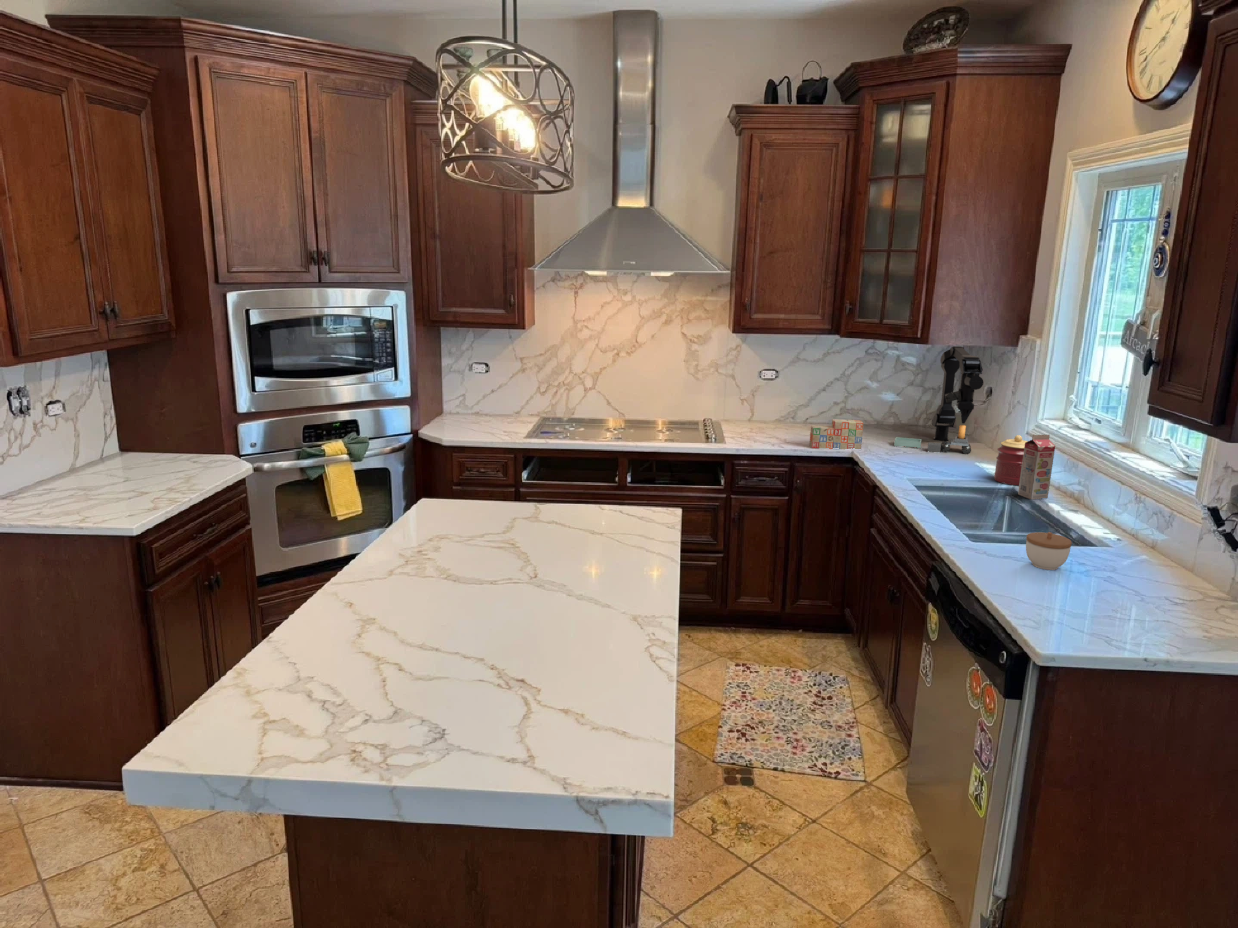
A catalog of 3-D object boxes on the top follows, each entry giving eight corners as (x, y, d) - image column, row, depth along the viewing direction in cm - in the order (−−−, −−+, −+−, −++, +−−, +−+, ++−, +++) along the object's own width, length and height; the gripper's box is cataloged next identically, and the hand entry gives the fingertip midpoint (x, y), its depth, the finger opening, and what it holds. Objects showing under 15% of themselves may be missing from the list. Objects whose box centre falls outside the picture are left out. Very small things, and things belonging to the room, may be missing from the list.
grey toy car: (940, 448, 363) (941, 434, 362) (970, 451, 359) (971, 437, 357) (940, 452, 356) (941, 438, 354) (970, 454, 352) (972, 440, 350)
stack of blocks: (811, 448, 358) (813, 420, 355) (809, 445, 364) (811, 418, 361) (861, 450, 357) (863, 422, 354) (858, 447, 363) (860, 419, 360)
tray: (894, 443, 371) (895, 437, 371) (920, 445, 368) (921, 439, 367) (894, 446, 365) (894, 439, 365) (920, 448, 362) (921, 442, 361)
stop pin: (957, 440, 357) (959, 424, 356) (964, 441, 356) (965, 425, 355) (957, 441, 355) (959, 425, 353) (964, 442, 354) (966, 426, 352)
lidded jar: (1018, 566, 220) (1023, 533, 218) (1028, 556, 228) (1032, 523, 226) (1063, 576, 213) (1068, 542, 211) (1071, 565, 222) (1076, 532, 219)
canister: (1010, 487, 301) (1017, 439, 296) (985, 478, 313) (991, 432, 308) (1039, 485, 304) (1046, 438, 300) (1014, 476, 316) (1020, 431, 312)
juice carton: (1017, 494, 291) (1026, 433, 286) (1034, 493, 292) (1042, 432, 287) (1031, 499, 285) (1039, 437, 279) (1047, 498, 286) (1056, 436, 281)
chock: (927, 450, 360) (928, 442, 359) (939, 451, 358) (940, 443, 357) (927, 452, 356) (928, 444, 355) (939, 453, 354) (940, 445, 353)
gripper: (946, 382, 361) (942, 417, 365) (947, 387, 344) (943, 424, 348) (974, 384, 357) (970, 419, 361) (976, 389, 340) (971, 426, 344)
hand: (963, 422), depth 354 cm, fingers open, 5 cm apart
